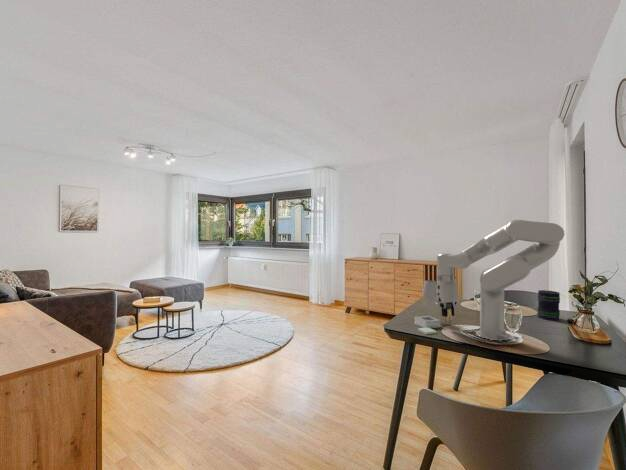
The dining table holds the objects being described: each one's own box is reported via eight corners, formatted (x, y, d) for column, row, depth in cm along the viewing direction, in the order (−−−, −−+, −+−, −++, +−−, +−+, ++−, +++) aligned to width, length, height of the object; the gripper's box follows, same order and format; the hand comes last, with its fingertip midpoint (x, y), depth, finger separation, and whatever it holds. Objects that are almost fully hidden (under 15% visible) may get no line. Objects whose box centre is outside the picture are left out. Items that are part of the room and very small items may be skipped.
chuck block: (440, 327, 153) (440, 320, 153) (425, 328, 150) (425, 321, 150) (424, 320, 164) (424, 314, 164) (410, 321, 161) (410, 315, 161)
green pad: (436, 333, 144) (436, 331, 144) (426, 334, 142) (426, 332, 142) (428, 329, 149) (428, 327, 149) (417, 330, 147) (417, 328, 147)
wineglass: (439, 321, 163) (440, 282, 163) (425, 320, 163) (425, 282, 163) (434, 317, 171) (434, 280, 171) (420, 317, 171) (421, 280, 171)
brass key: (453, 322, 147) (452, 302, 148) (448, 323, 146) (447, 302, 147) (448, 321, 151) (447, 300, 151) (442, 321, 150) (441, 301, 150)
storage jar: (541, 319, 167) (542, 293, 167) (534, 315, 177) (534, 289, 177) (563, 321, 165) (563, 294, 164) (554, 316, 174) (555, 290, 174)
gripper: (437, 280, 143) (439, 319, 142) (465, 278, 148) (467, 315, 148) (427, 279, 150) (429, 316, 150) (454, 276, 155) (455, 312, 155)
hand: (448, 315), depth 149 cm, fingers closed on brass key, 3 cm apart
